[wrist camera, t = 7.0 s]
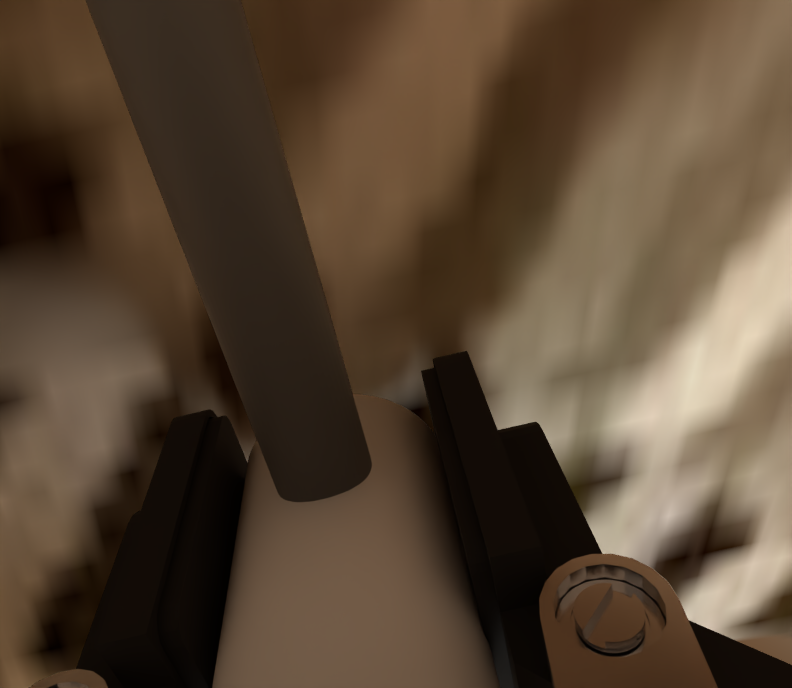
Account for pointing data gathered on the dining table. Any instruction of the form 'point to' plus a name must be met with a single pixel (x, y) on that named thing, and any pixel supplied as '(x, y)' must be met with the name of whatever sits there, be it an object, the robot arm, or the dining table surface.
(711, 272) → the dining table surface
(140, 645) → the robot arm
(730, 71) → the dining table surface
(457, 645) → the beige long handled piece
